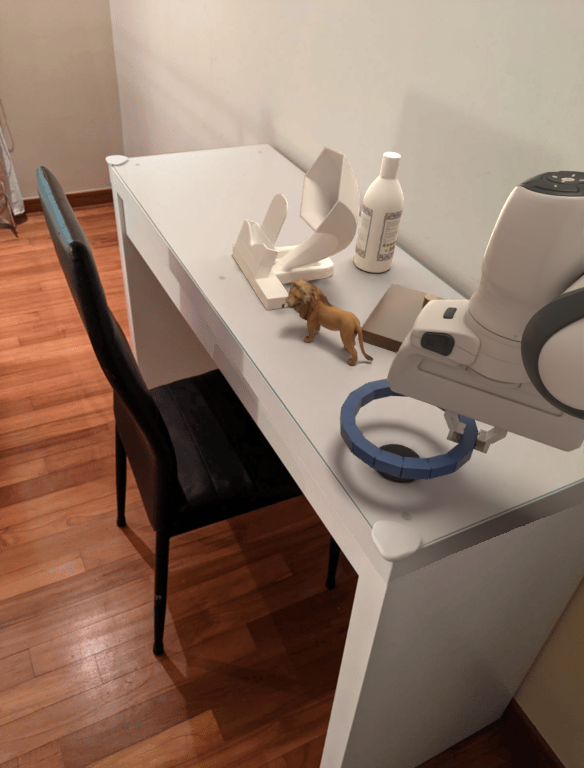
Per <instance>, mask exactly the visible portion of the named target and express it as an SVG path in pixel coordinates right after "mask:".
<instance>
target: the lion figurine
mask: <svg viewBox="0 0 584 768" xmlns="http://www.w3.org/2000/svg"><path fill="white" fill-rule="evenodd" d="M285 300H286V303H288V307H287V308H288V309H290V310H291V309H293V310H294V311H295V312H296V313H298V314H299V316H298V317H299V318H300V319H301V320H304V321H305V322H306V329H307V334H308V335H304V336H303V341H304V342H305V343H311V342H313V341H314V339H315V334H318V333H319V332H320V329H321V327H322V328H324V329H326V330H328V331H332V332H339V336H340V340H341V342H342V344H343V347H344V348H345V349H346V350H347V351H348V353H349V354H350V356H351V357H348V358H347V364H348V365H351V366H353V365H356V364H357V363H358V360H359V359H358V358H359V357H358V350H357V349H356V347H355V346H356V344H357V343H356V338H357V337H358V338H357V339H359V340H358V344H359V349H360V351H361V354H362V356H363V357H364V358H365V360H367V361H371V362H373V361H374V357H373V356H371V355H369V354H368V353H367V352H366V351H365V347H364V341H363V336H362V330H361V327H362V326H361V321H360V319H359V318H358V316H357V315H356V314H355V313H354V312H351V311H347V310H344V309H341V308H339V307H337V306H335V305H333V304H331V302H330V301H329V300H328V298H327V296H326V295H325V293H324V292H323V291H322V290H321V289H319V288H318V286H317V285H316V284H314V283H311V281H310V280H308V281H306V280H302V279H299V280H297V281H296V280H295V281H294V282H293V281H291V283H290V286H289V291H288V297H287V298H286V299H285Z"/></svg>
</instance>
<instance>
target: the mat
mask: <svg viewBox="0 0 584 768" xmlns="http://www.w3.org/2000/svg"><path fill="white" fill-rule="evenodd" d="M378 447H379V448H380V449H381V450H384V451H387V452H390V453H393V454H396V455H399V456H402V457H412V458H421V457H420V455H419V454H418V453H417V451H415V450H414V449H412V448H410V447H408V446H405V445H403V444H399V443H388V444H383V445H381V446H378ZM375 471H376V472H377V473H378V474H379V475H380V476H381V477H383V478H384V479H386V480H388V481H391V482H394V483H400V484H402V483H403V484H405V483H407V484H408V483H412V482H414V481H415V480H417V479H405V478H401V476H400V477H399V478H398V477H396V476H393V475H390V474H387V473H384V472H381V471H378V470H375Z"/></svg>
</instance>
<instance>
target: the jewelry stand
mask: <svg viewBox="0 0 584 768" xmlns="http://www.w3.org/2000/svg"><path fill="white" fill-rule="evenodd" d="M288 212H289V202H288V199H287V197H286V196H285V195H284V194H282V193H276V194H275V195H274V196H273V198H272V199H271V201H270V203H269V206H268V209H267V211H266V213H265V216H264V217H263V221H262V223H261V225H260V224H259V223H258V221H255V220H251V219H247V218H244V220H243V224H242V226H241V228H240V230H239V232H238V235H237V238H236V240H235V243H234V244H233V245H232V253H231V254H232V257H233V259H234V260H235V262H236V263H237V265H238V267H239V269H240V270H241V272H242V273H243V275H244V276H245V278H246V279H247V282H248V283H249V284H250V286H251V287H252V289H253V291H254V293H255V294H256V296H257V297H258V299H259V300H260V302H261V304H262V305H263V307H264V308H265V310H266V311H270V310H277V309H279V310H280V309H282V308H285V309H286V308H288V303H286V300H285V299H286V298H287V297H288V294H289V291H287V290H286V287H284V285H285V284H291V281H293V282H294V281H295V280H296V281H297V280H299V279H302V280H306V281H316V280H322V279H323V280H324V279H327V278H330V277H332V276H333V274H334V271H335V263H334V262H333V261H332V259H331V258H330V257H332V256H335V255H336V254H339V253H340V252H342V251H345V249H347V248H348V247H349V246H350V245H351V243H352V242H353V240H354V239H355V236H356V234H357V230H358V225H359V223H358V222H359V220H360V213H361V195H360V190H359V185H358V181H357V178H356V174H355V172H354V170H353V168H352V166H351V163H350V161H349V160H348V158H347V156H346V154H344V153H342V152H340V151H338V150H336V149H334V148H331V147H329V146H324V147H323V148H322V150H321V152H320V153H319V155H318V156H317V158H316V159H315V160H314V162H313V163H312V165H311V166H310V167H309V168H308V170H307V172H306V173H305V174H304V177H303V185H302V193H301V202H300V209H299V217H300V219H302V220H303V222H305V223H306V225H307V226H308V227H309V228H310V229H311V230H312V231H313V232H311V234H310V235H309V236H308V237H307V238H306V239H304V240H303V241H302V242H301V243H300V244H296V245H285V246H275V244H276V242H277V240H278V237H279V235H280V233H281V231H282V228H283V227H284V224H285V221H286V219H287V216H288Z"/></svg>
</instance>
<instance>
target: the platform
mask: <svg viewBox="0 0 584 768" xmlns="http://www.w3.org/2000/svg"><path fill="white" fill-rule="evenodd" d="M431 300H448V299H447V298H443V297H440V296H437V295H435V294H431V293H426V292H424V291H419V290H417V289H413V288H410V287H406V286H404V285H403V286H402V285H400V284H396V283H394V282H393V283H391V284H390V286H389V287H388V288H387V290H386V291H385V293H384V294H383V295H382V297H381V299H380V300H379V302H378V303H377V304H376V306H375V307H374V309H373V310H372V312H371V313H370V314H369V316H368V317H367V319H366V320H365V322H363V324H362V326H361V330H362V336H363V343H366V344H367V343H368V344H370V345H374V346H377V347H380V348H383V349H386V350H389V351H392V352H395V353H397V352H398V350H399V348H400V346H401V345H402V343H403V341H404V339H405V338H406V336H407V334H408V333H409V331H410V330H411V329H412V328H413V325H414V323H415V320H416V318H417V316H418V315H419V313H420V312H421V310H422V309H423V308H424V306H425V305H426V304H427V303H428V302H429V301H431ZM357 339H358V338H357ZM358 341H359V339H358Z"/></svg>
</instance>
